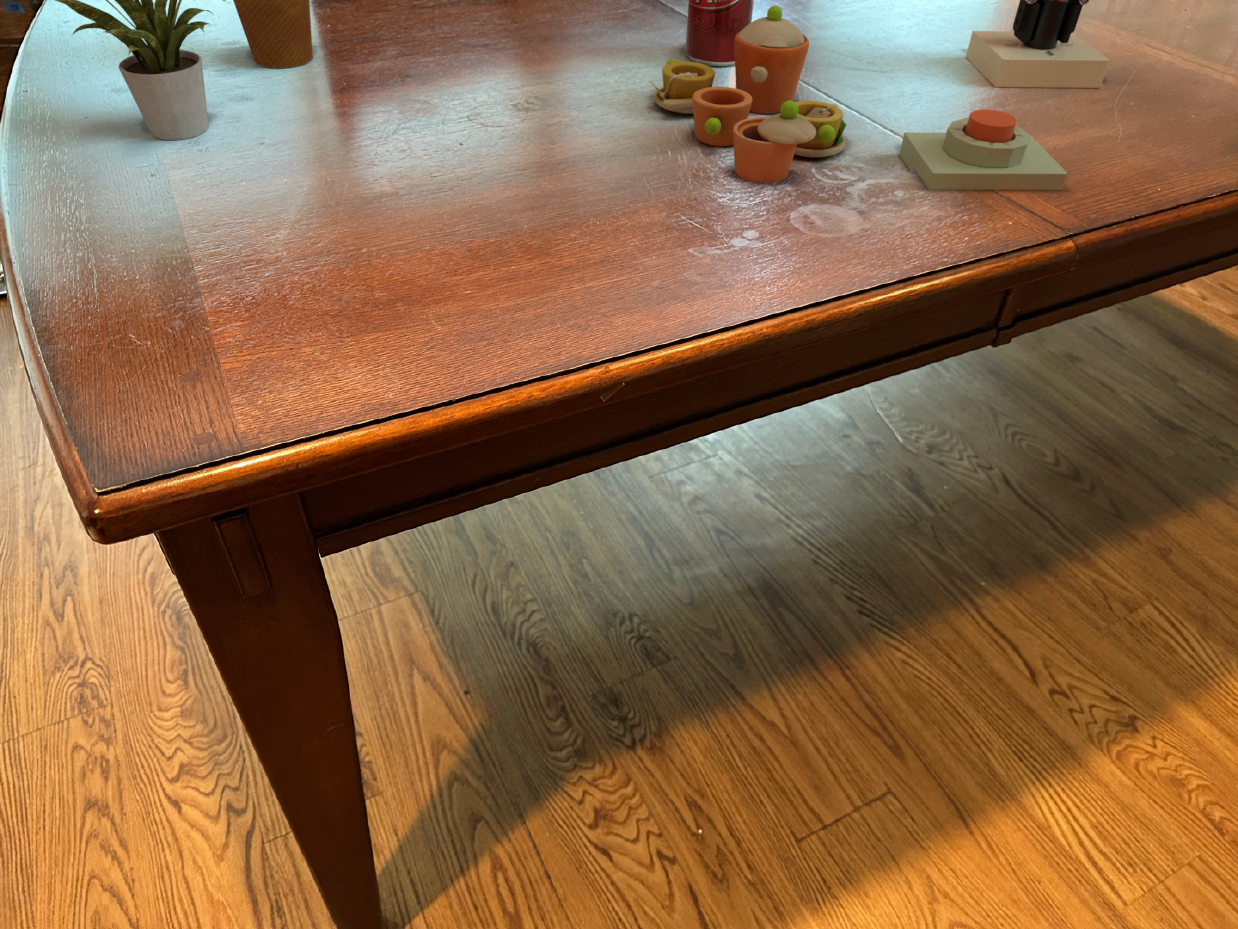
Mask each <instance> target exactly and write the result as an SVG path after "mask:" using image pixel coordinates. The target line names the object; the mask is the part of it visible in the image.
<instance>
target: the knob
mask: <svg viewBox="0 0 1238 929" xmlns="http://www.w3.org/2000/svg"><path fill="white" fill-rule="evenodd" d="M1070 1H1071V0H1037V3H1038V4H1039V5H1040V9H1039V13H1038V16H1037V19H1036V22H1035V26H1034V29H1033V32H1032V35H1031V39H1030V41H1028V42H1027V43H1023V44H1024V45H1026V46H1028V47H1031V48H1035V49H1045V50H1046V49H1053V48H1055V47H1056V45H1057V42H1058V39H1059V36H1060V32H1061V29H1062V26H1063V23H1064V20H1065V17H1066V14H1067V11H1068V7H1069V4H1070Z"/></svg>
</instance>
